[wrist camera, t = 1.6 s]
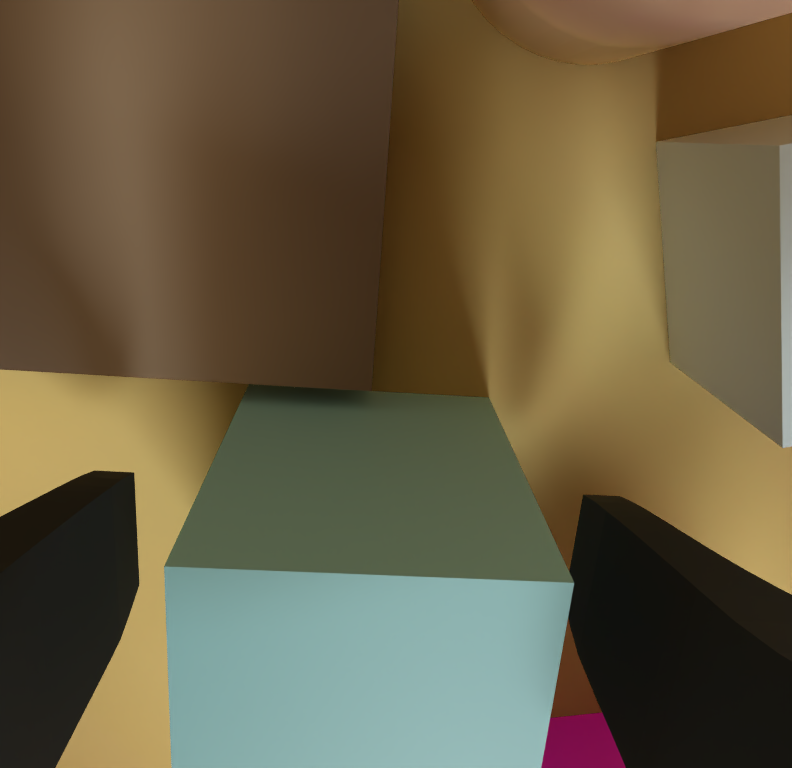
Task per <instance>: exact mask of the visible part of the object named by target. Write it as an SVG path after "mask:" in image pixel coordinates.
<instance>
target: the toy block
mask: <svg viewBox="0 0 792 768" xmlns="http://www.w3.org/2000/svg"><path fill="white" fill-rule="evenodd" d="M541 768H626V767H625V764H624V762H623V760H622V757H621V755H620V753H619V750H618V748H617V746H616V743H615V741H614V739H613V736H612V734H611V732H610V729H609V727H608V725H607V722H606V720H605V718H604V715H603V713H593V714H583V715H574V716H564V717H555V718H550V722H549V727H548V733H547V738H546V744H545V750H544V755H543V761H542V766H541Z"/></svg>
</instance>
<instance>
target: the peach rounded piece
mask: <svg viewBox="0 0 792 768" xmlns="http://www.w3.org/2000/svg"><path fill="white" fill-rule="evenodd" d="M472 2H473V4H474V5H475V6H476V7H477V9H478V10H479V11H480V12H481V13H482V15H483V16H484V17H485V18H486V19H487V21H488V22H489V23H491V24H492V25H493V26H494V27H495V28H496V29H497V30H498V31H499V32H500V33H502V34H503V35H504V36H505V37H507V38H508V39H510V40H511V41H513V42H514V43H516V44H517V45H519V46H520V47H522V48H524V49H526V50H528V51H530V52H532V53H534V54H536V55H539V56H542V57H545V58H548V59H551V60H555V61H559V62H565V63H571V64H585V65H597V64H605V63H613V62H618V61H622V60H625V59H629V58H633V57H636V56H640V55H644V54H647V53H651V52H654V51H658V50H661V49H665V48H668V47H672V46H675V45H679V44H683V43H686V42H690V41H693V40H697V39H700V38H704V37H707V36H711V35H714V34H718V33H722V32H725V31H729V30H732V29H736V28H739V27H743V26H746V25H750V24H753V23H757V22H760V21H764V20H768V19H771V18H775V17H778V16H782V15H785V14H789V13H792V0H472Z"/></svg>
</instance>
